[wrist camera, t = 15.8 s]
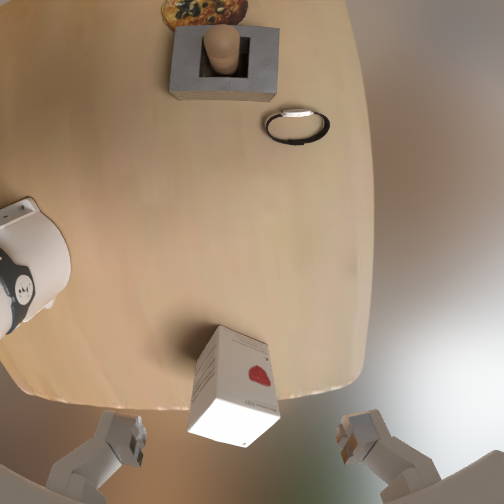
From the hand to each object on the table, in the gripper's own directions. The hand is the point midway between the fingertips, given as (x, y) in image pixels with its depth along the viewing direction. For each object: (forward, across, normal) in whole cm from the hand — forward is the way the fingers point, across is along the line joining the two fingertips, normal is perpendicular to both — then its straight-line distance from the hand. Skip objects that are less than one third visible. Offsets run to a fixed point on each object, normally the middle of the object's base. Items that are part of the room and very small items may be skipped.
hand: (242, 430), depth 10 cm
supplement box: (+29, 0, +21) cm, 36 cm away
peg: (+29, +2, -20) cm, 35 cm away
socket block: (+29, +2, -20) cm, 35 cm away
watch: (+30, -7, -13) cm, 33 cm away
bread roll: (+30, +6, -30) cm, 42 cm away
